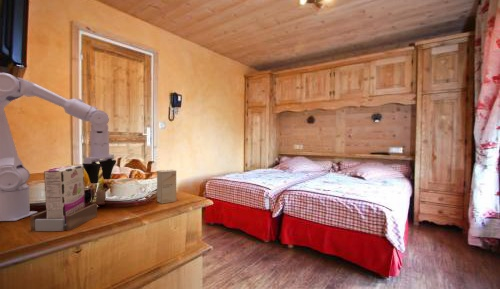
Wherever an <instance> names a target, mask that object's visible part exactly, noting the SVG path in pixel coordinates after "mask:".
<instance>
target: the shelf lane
mask: <svg viewBox="0 0 500 289" xmlns="http://www.w3.org/2000/svg"><path fill="white" fill-rule="evenodd" d="M96 217H98V207H97V204H96V203H92V204H90V205H87V206H85V208H83V209H81V210H79V211H76V212H74V213H72V214H70V215H67V216H66V228H67V229H66V231H67V232H68V231H72V230H74V229H76V228H78V227H79V226H81V225H83V224H86V223H87V222H88V221H91V220H92V219H94V218H96ZM36 219H47V218H46V209H45V210H42V211H40V212H37V213H35V214H33V215H30V231H31V232H33V231H35V220H36ZM35 232H36V231H35Z"/></svg>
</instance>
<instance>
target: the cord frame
mask: <svg viewBox="0 0 500 289" xmlns="http://www.w3.org/2000/svg"><path fill="white" fill-rule="evenodd" d="M106 196H107V192H106V190H98V191H96V192H95V200H96V201H95V203H96V202H97V203H100V202H104V201H105V198H106V199H107V197H106ZM98 207H99V206H98V205H97V208H98ZM65 230H67V228H66V224H65V219H36V220H35V232H64V231H65Z"/></svg>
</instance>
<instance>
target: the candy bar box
mask: <svg viewBox="0 0 500 289" xmlns="http://www.w3.org/2000/svg"><path fill="white" fill-rule="evenodd" d="M84 171H85V169H84V168H83V165H82V164H79V165H75V164H74V165H72V164H71V165H67V166H60V167H57V168H54V169H48V170H44V171H43V177H44V196H45V210H46V218H47V219H65V224H66V216H67V215H70V214H72V213H74V212H76V211H79V210H81V209H83V208H85V207H86V198H85V196H86V194H85V176H84V175H85V173H84Z"/></svg>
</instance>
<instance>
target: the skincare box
mask: <svg viewBox="0 0 500 289" xmlns="http://www.w3.org/2000/svg"><path fill="white" fill-rule="evenodd" d="M156 173H157V174H156V176H157V177H156V182H157V184H156V185H157V186H156V191H157V192H156V200H157V202H158V203H160V204H168V203H174V202H177V170H175V169H165V170H157V171H156Z"/></svg>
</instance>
